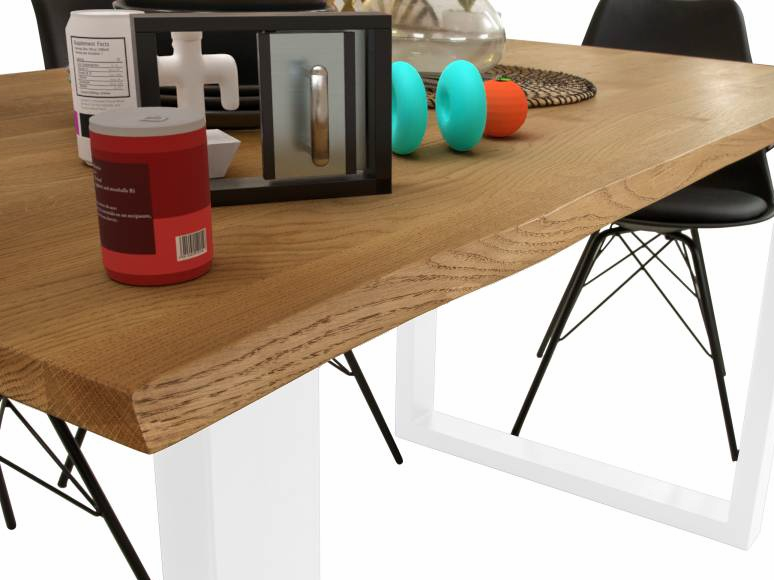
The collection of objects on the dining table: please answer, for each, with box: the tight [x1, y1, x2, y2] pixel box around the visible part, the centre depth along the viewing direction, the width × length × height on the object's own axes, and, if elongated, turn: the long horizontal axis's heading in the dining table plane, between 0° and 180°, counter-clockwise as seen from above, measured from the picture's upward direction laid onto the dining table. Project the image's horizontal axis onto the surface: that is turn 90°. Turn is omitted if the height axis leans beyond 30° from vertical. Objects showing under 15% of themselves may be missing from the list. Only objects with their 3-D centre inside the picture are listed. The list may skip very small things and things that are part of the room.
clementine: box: [483, 76, 529, 138], centre depth 121 cm, size 8×7×7 cm
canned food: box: [89, 106, 215, 287], centre depth 70 cm, size 8×8×11 cm
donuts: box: [392, 59, 487, 156], centre depth 111 cm, size 10×10×10 cm
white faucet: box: [157, 32, 242, 180], centre depth 97 cm, size 7×9×15 cm
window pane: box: [256, 31, 357, 180], centre depth 88 cm, size 9×5×13 cm, turn 112°
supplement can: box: [64, 8, 145, 167], centre depth 102 cm, size 8×8×15 cm
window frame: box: [129, 10, 393, 208], centre depth 90 cm, size 22×4×16 cm, turn 112°
